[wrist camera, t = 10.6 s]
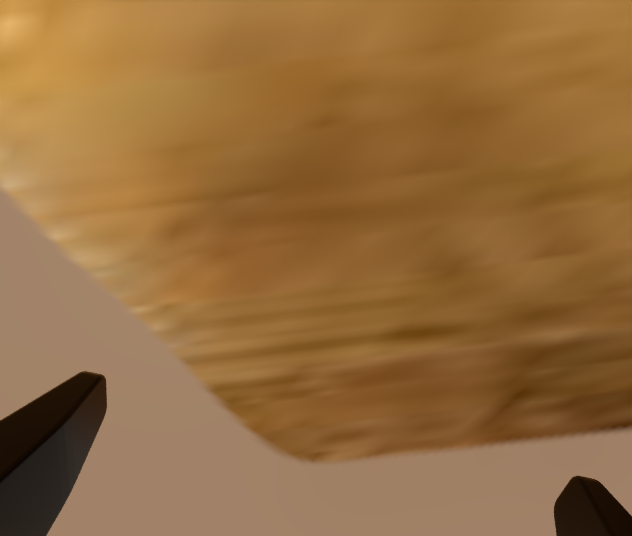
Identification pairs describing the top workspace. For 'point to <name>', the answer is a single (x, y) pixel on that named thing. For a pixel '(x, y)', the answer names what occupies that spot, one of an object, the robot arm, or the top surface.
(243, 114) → the top surface
